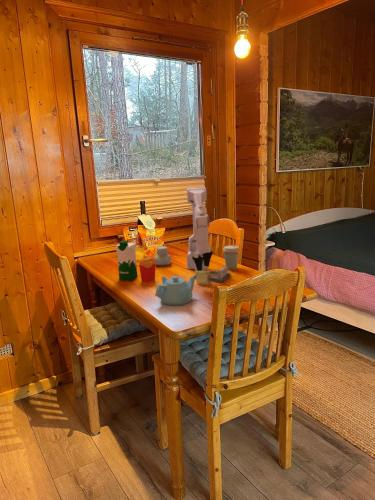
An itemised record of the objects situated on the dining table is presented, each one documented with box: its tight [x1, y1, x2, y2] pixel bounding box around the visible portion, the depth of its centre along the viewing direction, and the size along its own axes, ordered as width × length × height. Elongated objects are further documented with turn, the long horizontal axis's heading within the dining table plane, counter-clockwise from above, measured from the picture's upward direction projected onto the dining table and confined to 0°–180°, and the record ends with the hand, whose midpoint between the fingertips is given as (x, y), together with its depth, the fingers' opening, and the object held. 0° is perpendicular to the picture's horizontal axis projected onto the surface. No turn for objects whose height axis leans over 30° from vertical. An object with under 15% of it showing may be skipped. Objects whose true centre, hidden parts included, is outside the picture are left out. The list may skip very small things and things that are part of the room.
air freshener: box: [154, 246, 172, 267], centre depth 209 cm, size 11×8×10 cm
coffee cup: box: [222, 244, 240, 271], centre depth 197 cm, size 8×8×12 cm
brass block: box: [195, 270, 212, 286], centre depth 176 cm, size 6×4×6 cm, turn 61°
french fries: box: [138, 256, 157, 284], centre depth 182 cm, size 8×4×12 cm, turn 111°
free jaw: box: [217, 265, 229, 278], centre depth 181 cm, size 2×8×4 cm, turn 151°
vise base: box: [192, 263, 232, 284], centre depth 184 cm, size 16×11×6 cm
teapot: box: [154, 275, 196, 307], centre depth 157 cm, size 15×15×11 cm
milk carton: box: [115, 240, 138, 282], centre depth 186 cm, size 9×9×20 cm
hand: (203, 268), depth 175 cm, fingers open, 7 cm apart
